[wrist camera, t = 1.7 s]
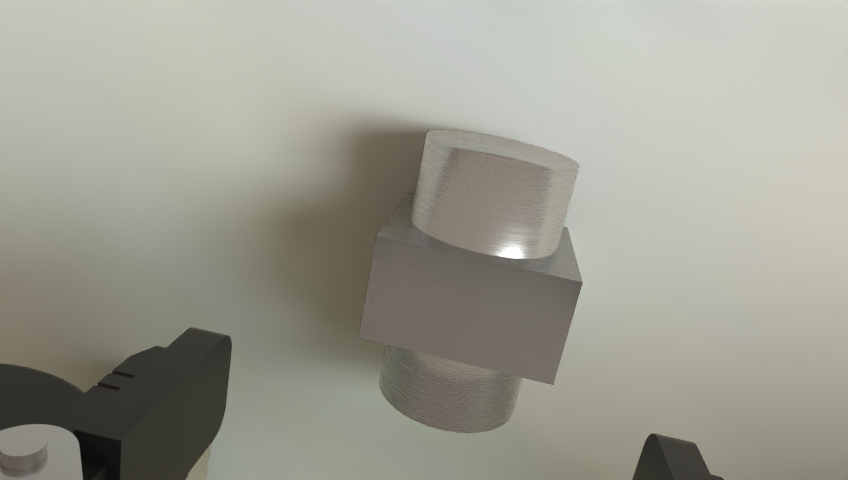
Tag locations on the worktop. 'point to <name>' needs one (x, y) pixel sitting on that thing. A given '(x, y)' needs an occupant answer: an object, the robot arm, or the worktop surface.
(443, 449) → the worktop surface
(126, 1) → the worktop surface
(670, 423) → the worktop surface
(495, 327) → the coupling
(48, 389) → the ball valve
